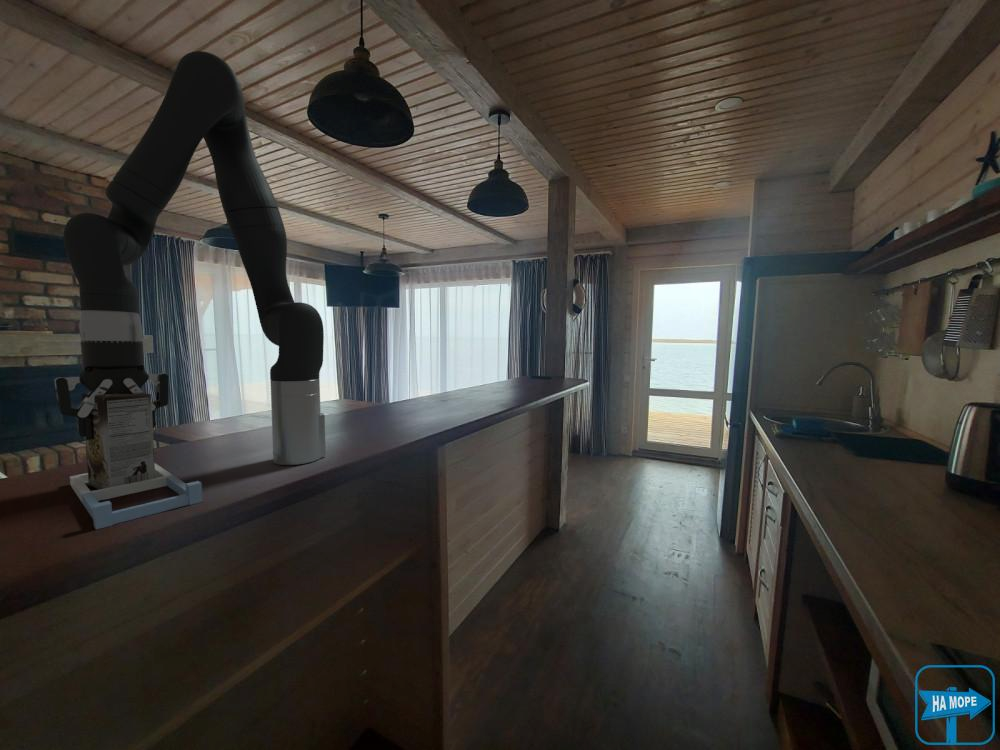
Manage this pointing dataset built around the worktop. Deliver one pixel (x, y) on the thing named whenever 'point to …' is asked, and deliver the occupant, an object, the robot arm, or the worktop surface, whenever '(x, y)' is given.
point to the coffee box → (120, 440)
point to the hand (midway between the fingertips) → (119, 434)
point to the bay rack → (103, 510)
